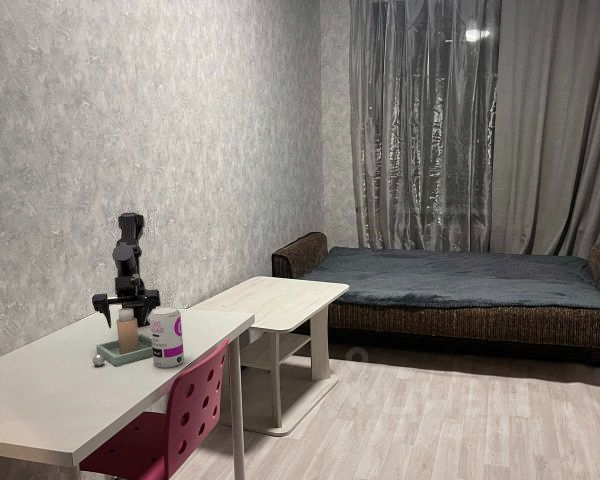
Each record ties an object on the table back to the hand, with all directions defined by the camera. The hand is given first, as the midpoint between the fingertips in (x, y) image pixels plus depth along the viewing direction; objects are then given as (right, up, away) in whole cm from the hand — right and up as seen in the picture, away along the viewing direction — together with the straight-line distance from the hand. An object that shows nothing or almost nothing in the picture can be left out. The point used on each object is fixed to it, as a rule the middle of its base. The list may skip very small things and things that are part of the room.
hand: (126, 326), depth 172 cm
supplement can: (+13, -9, -6) cm, 17 cm away
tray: (0, -8, +3) cm, 9 cm away
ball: (-6, -8, -6) cm, 12 cm away
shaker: (0, -8, +3) cm, 8 cm away
